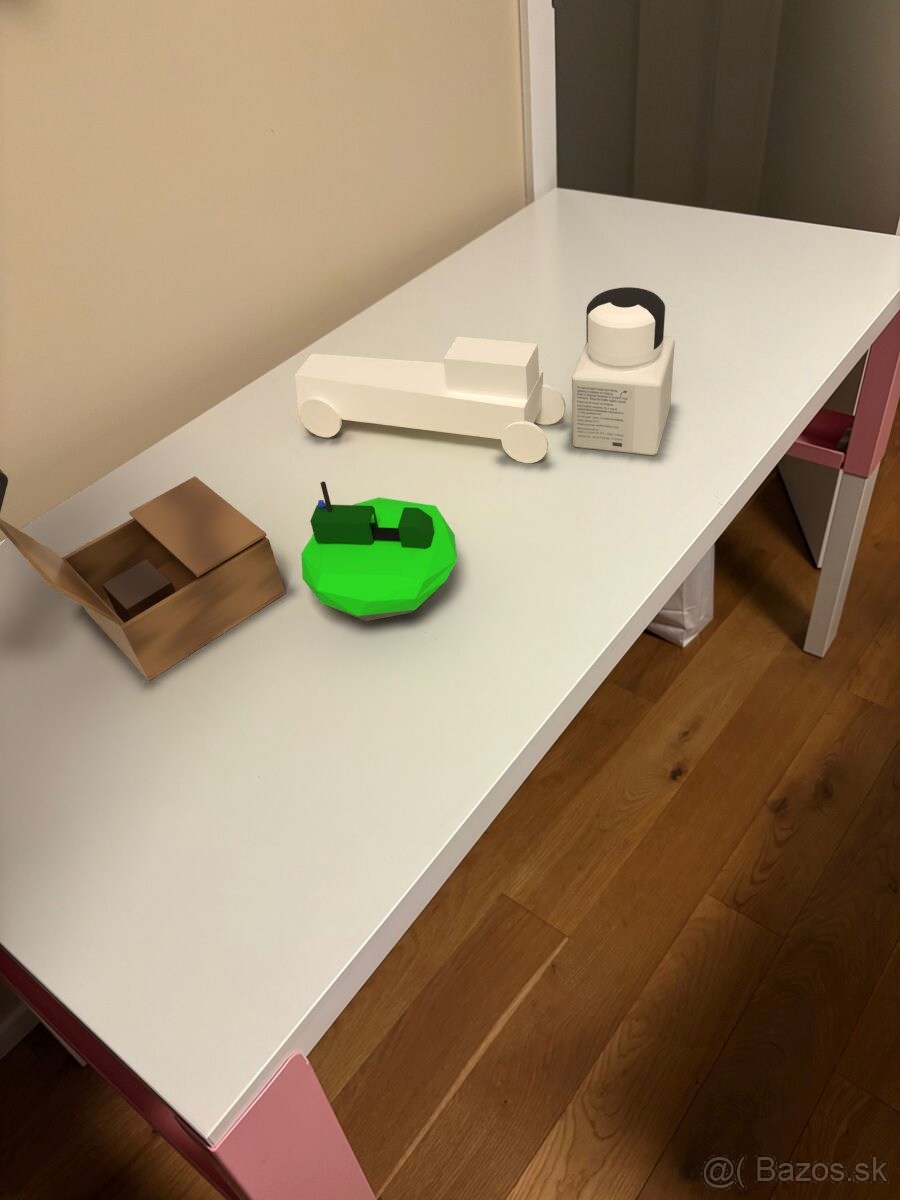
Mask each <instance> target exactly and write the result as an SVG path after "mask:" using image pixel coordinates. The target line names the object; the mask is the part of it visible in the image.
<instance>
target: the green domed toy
mask: <svg viewBox="0 0 900 1200" xmlns="http://www.w3.org/2000/svg"><path fill="white" fill-rule="evenodd" d="M320 487H321V491H322V495H323V499H319V500H318V502H317V504H316V506H315V508H314V510H313V513H312V516H311V518H310V521H309V522H310V525H311V529H312V532H313V533H312V536H311V537H310V539H309V541H308V542H307V543H306V545H305V547H304V549H303V550H302V551H301V553H300V555H301V556H300V557H301V574H302V575H301V576H302V580H303V581H304V583H305V584H306V585H307V587H308V588H309V589H310V590H311V592H312V593H313V594H314V596H315V597H316V599H318V601H319V602H320V603H321V604H322V605H325V606H327V607H330V608H332V609H334V610H337V611H340V612H342V613H345V614H347V615H349V616H352V617H354V618H357V619H359V620H362V621H364V622H368V621H369V622H370V621H375V620H379V619H385V618H391V617H395V616H396V617H397V616H401V615H407V614H411V613H413V612H414V611H416V610H417V609H418V608H419V607H420V606H421V605H422V604H423V603H424V602H425V601H426V600H427V599H429V598H430V597H431V596H432V595H433V594H434V593H435V592H436V591H437V590H438V589H439V588H441V587H442V586H443V585H444V584H445V583H446V581H447V580H448V578H449V577H450V574H451V572H452V570H453V569H454V566H455V564H456V563H457V561H458V557H457V556H458V555H457V546H456V545H457V544H456V536H455V533H454V532H453V530H452V529H451V527H450V525H449V524H448V522H447V521H446V519H445V518H444V516H443V515H442V512H440V510H439V509H438V506H437V505H433V504H426V503H419V502H413V501H408V500H407V501H406V500H400V499H398V500H397V499H394V498H393V499H392V498H386V497H376V498H372V499H368V500H364V501H362V502H361V501H360V502H357V503H354V504H332V503H331V500H330V499H331V498H330V495H329V490H328V487H327V483H326V481H321V482H320Z"/></svg>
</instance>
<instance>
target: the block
mask: <svg viewBox="0 0 900 1200" xmlns="http://www.w3.org/2000/svg"><path fill="white" fill-rule="evenodd" d="M102 586H103V588H104V590H105V592H106V594H107V596H108V598H109V600H110V602H111V604H112V606H113V608H114V610H115V612H116V614H117V616H118V617H119V618H120V619H121V620H122V621H123V622H124V623H126V622H127V621H129V620H131V619H132V618H134V617H136V616H137V615H139V614H140V613H142V612H144V611H145V610H147V609H149V608H150V607H152V606H154V605H155V604H157V603H159V602H160V601H162V600H164V599H165V598H167V597H169V596H170V595H172V594H174V593H175V592H176V591H175V589H174V586H173V584H172V582H171V581H170V580H169V579H168V578H167V577H166V576H165V575H163V574H162V573H161V572H160V571H159V570H158V569H157V568H156V567H155V566H154V565H153V564H152V563H151V562H149V561H148V560H147V559H145V560H143V561H142V562H140V563H138V564H137V565H135V566H133V567H131V568H130V569H128V570H126V571H125V572H123V573H121V574H120V575H118V576H116V577H115V578H113V579H111V580H109V581H108V582H106V583H104V584H103V585H102Z"/></svg>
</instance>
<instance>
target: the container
mask: <svg viewBox="0 0 900 1200" xmlns="http://www.w3.org/2000/svg"><path fill="white" fill-rule="evenodd" d="M585 313H586V315H585V316H586V317H585V319H586V324H585V325H586V326H585V327H586V328H585V329H586V330H585V331H586V332H585V333H586V336H585V337H586V339H585V340H586V342H585V343H584V347H583V348H582V350H581V353H580V356H579V358H578V361H577V363H576V365H575V368H574V370H573V373H572V376H571V402H572V403H571V407H572V408H571V410H572V411H571V413H572V416H571V417H572V419H571V420H572V445H573V446H574V447H575V448H579V449H580V448H581V449H591V450H598V451H599V450H600V451H609V452H618V453H627V454H628V453H629V454H637V455H646V456H647V455H648V456H656V455H657V453H658V452H659V448H660V445H661V441H662V437H663V435H664V430H665V427H666V423H667V419H668V416H669V413H670V410H671V399H672V387H673V372H674V371H673V370H674V358H675V345H676V340H675V338H674V337H673V336H665V322H666V321H665V319H666V304H665V302H664V301H663V299H661V297H660V296H659V295H658V294H657V293H655V292H653V291H652V290H649V289H645V288H640V287H633V286H632V287H631V286H629V287H628V286H627V287H626V286H625V287H616V288H611V289H606V290H605V291H602V292H600V293H598V294H597V295H595V296H594V297H593V298H592V299H591V300H590V301H589V302H588V304H587V306H586V312H585Z"/></svg>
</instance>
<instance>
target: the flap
mask: <svg viewBox="0 0 900 1200" xmlns="http://www.w3.org/2000/svg"><path fill="white" fill-rule="evenodd" d="M0 531H1V532H2V533H3V534H4V535H5V536H6V538H8V540H9V541H10V542H11V543H12V545H14V546H15V548H16V549H17V550H18V552H20V553H21V555H22V556H23V557H25V559H26V560H27V562H29V564H31V566H32V567H33V568H34V569H35V571H37V572H38V574H39V575H40V576H41V577H42V578H43V579H44V580H45V581H46V583H47V585H49V586H50V587H51V589H54V590H56V591H57V592H60V593H61V594H63V595H65V596H66V597H68V598H70V599H72V600H74V601H75V602H77V603H78V604H81V605H82V606H83V605H84V606H86V607H88V608H89V609H91V610H93V611H95V612H97V613H98V614H100V615H102V616H104V617H105V618H107V619H109V620H111V621H112V622H114V623H116V624H117V623H118V622H119V620H118V619H117V618H116V617H115V615H114V614H113V613H112V612H111V611H110V610H109V609H108V608H107V607H106V606H105V605H104V604H103V603H102V602H101V600H100V599H99V598H98V597H97V596H96V595H95V594H94V593H93V592H92V591H91V590H90V589H89V588H88V586H87V585H86V584H85V583H84V582H83V581H82V580H81V579H80V578H79V577H78V576H77V575H76V574H75V573H74V571H73V570H72V569H71V568H70V567H69V566H68V565H67V564H66V563H65V562H64V561H63V560H62V559H61V558H62V557H61V556H60V555H59V554H58V553H57V551H54V550H52V549H51V548H49V547H48V546H46V545H44V544H43V543H41V542H39V541H37V540H36V539H34V538H33V537H32V536H29V535H27V534H26V533H25V532H23V531H22V530H20V529H18V528H16V527H15V526H13V525H12V524H9V523H8V522H7V521H5V520H3V519H1V518H0Z"/></svg>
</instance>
